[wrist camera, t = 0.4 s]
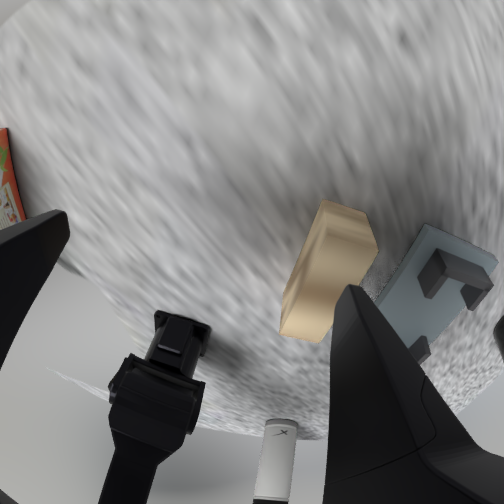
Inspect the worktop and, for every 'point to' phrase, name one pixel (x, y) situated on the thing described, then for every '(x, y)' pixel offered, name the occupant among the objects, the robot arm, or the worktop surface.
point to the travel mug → (276, 462)
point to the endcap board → (434, 287)
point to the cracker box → (8, 187)
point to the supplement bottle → (500, 336)
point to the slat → (326, 270)
